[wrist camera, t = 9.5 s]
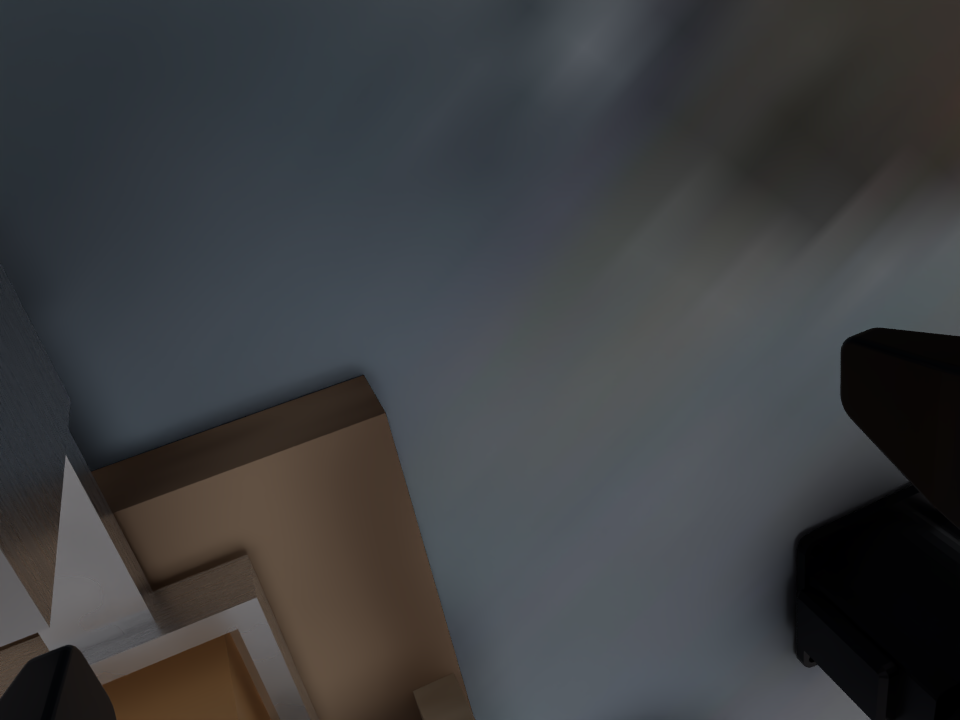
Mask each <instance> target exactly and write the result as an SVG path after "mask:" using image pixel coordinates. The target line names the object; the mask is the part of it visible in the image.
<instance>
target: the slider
mask: <svg viewBox="0 0 960 720" xmlns="http://www.w3.org/2000/svg"><path fill="white" fill-rule="evenodd" d="M70 403H71V400H70V398H69V396H68V394H67V392H66V390H65V388H64V386H63V384H62V382H61V380H60V378H59V376H58V374H57V372H56V370H55V368H54V366H53V364H52V362H51V361H50V359H49V357H48V355H47V353H46V351H45V349H44V347H43V345H42V343H41V341H40V339H39V337H38V335H37V333H36V331H35V329H34V327H33V325H32V323H31V321H30V319H29V317H28V315H27V314H26V312H25V310H24V308H23V306H22V304H21V302H20V300H19V298H18V296H17V294H16V292H15V290H14V288H13V286H12V284H11V282H10V280H9V278H8V276H7V274H6V272H5V270H4V268H3V267H2V265H1V263H0V647H2V646H4V645H7V644H9V643H12V642H14V641H17V640H20V639H22V638H25V637H27V636H30V635H32V634H35V633H37V632H38V634H39V635H40V636H38V637H36V638H33V639H30V640H28V641H25V642H23V643H20V644H18V645H15V646H13V647H10V648H8V649H5V650H2V651H0V698H1V696H2V695H3V694H4V692H5V691H6V690H7V688H8V687H9V685H10V684H11V683H12V681H13V680H14V679H15V677H16V676H17V675H18V673H19V672H20V670H21V669H22V668H23V666H24V665H25V664H26V663H27V662H28V661H29V660H30V659H32V658H34V657H36V656H39V655H41V654H44V653H46V652H49V651H51V650H54V649H57V648H59V647H62V646H64V645H73V646H76V647H77V648H78V649H79V650H80V651H81V652H82V654H83V655H84V657H85V658H86V660H87V662H88V663H89V665H90V667H91V668H92V670H93V671H94V673H95V675H96V676H97V678H98V680H99V681H100V683H101V685H103V684H106V683H108V682H111V681H113V680H115V679H118V678H120V677H123V676H125V675H127V674H130V673H132V672H135V671H137V670H140V669H142V668H144V667H147V666H149V665H152V664H154V663H157V662H159V661H161V660H164V659H166V658H169V657H171V656H174V655H176V654H178V653H181V652H183V651H186V650H188V649H190V648H193V647H195V646H198V645H200V644H203V643H205V642H207V641H210V640H212V639H215V638H217V637H220V636H222V635H224V634H227V633H229V632H232V631H234V630H237V629H238V630H239V632H240V634H241V637H242V639H243V641H244V643H245V645H246V647H247V649H248V652H249V654H250V656H251V658H252V660H253V662H254V664H255V666H256V669H257V671H258V673H259V675H260V677H261V679H262V681H263V684H264V686H265V688H266V690H267V692H268V694H269V696H270V699H271V701H272V703H273V705H274V707H275V709H276V711H277V713H278V716H279V718H280V720H319V719H318V717H317V714H316V712H315V710H314V707H313V705H312V703H311V700H310V698H309V696H308V693H307V691H306V689H305V686H304V684H303V682H302V680H301V677H300V675H299V673H298V670H297V668H296V666H295V663H294V661H293V659H292V656H291V654H290V652H289V650H288V647H287V645H286V643H285V640H284V638H283V636H282V633H281V631H280V629H279V626H278V624H277V622H276V619H275V617H274V615H273V613H272V610H271V608H270V606H269V603H268V601H267V599H266V596H265V594H264V592H263V589H262V587H261V585H260V582H259V580H258V578H257V576H256V573H255V571H254V569H253V566H252V564H251V562H250V559H249V557H248V555H244V556H242V557H239V558H237V559H234V560H231V561H229V562H226V563H224V564H221V565H219V566H216V567H214V568H211V569H209V570H206V571H203V572H201V573H198V574H196V575H193V576H191V577H188V578H186V579H183V580H181V581H178V582H175V583H173V584H170V585H168V586H165V587H163V588H160V589H158V590H155V591H153V590H152V588H151V586H150V584H149V582H148V580H147V578H146V576H145V574H144V573H143V571H142V569H141V567H140V565H139V563H138V561H137V559H136V557H135V555H134V553H133V551H132V550H131V548H130V546H129V544H128V542H127V540H126V538H125V536H124V534H123V532H122V530H121V529H120V527H119V525H118V523H117V521H116V519H115V517H114V515H113V513H112V511H111V509H110V507H109V506H108V504H107V502H106V500H105V498H104V496H103V494H102V492H101V490H100V488H99V486H98V485H97V483H96V481H95V479H94V477H93V475H92V473H91V471H90V469H89V467H88V465H87V464H86V462H85V460H84V458H83V456H82V454H81V452H80V450H79V448H78V446H77V444H76V442H75V441H74V439H73V437H72V435H71V433H70V431H69V429H68V424H69V414H70Z"/></svg>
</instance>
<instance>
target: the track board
mask: <svg viewBox="0 0 960 720" xmlns="http://www.w3.org/2000/svg"><path fill="white" fill-rule="evenodd" d="M91 473H92V475H93V477H94V479H95V481H96V483H97V485H98V486H99V488H100V490H101V492H102V494H103V496H104V498H105V500H106V502H107V504H108V506H109V507H110V509H111V511H112V513H113V515H114V517H115V519H116V521H117V523H118V525H119V527H120V529H121V530H122V532H123V534H124V536H125V538H126V540H127V542H128V544H129V546H130V548H131V550H132V551H133V553H134V555H135V557H136V559H137V561H138V563H139V565H140V567H141V569H142V571H143V573H144V574H145V576H146V578H147V580H148V582H149V584H150V586H151V588H152V590H153V591H155V590H158V589H160V588H163V587H165V586H168V585H170V584H173V583H175V582H178V581H181V580H183V579H186V578H188V577H191V576H193V575H196V574H198V573H201V572H203V571H206V570H209V569H211V568H214V567H216V566H219V565H221V564H224V563H226V562H229V561H231V560H234V559H237V558H239V557H242V556H244V555H248V557H249V559H250V562H251V564H252V566H253V569H254V571H255V573H256V576H257V578H258V580H259V582H260V585H261V587H262V589H263V592H264V594H265V596H266V599H267V601H268V603H269V606H270V608H271V610H272V613H273V615H274V617H275V619H276V622H277V624H278V626H279V629H280V631H281V633H282V636H283V638H284V640H285V643H286V645H287V647H288V650H289V652H290V654H291V656H292V659H293V661H294V663H295V666H296V668H297V670H298V673H299V675H300V677H301V680H302V682H303V684H304V686H305V689H306V691H307V693H308V696H309V698H310V700H311V703H312V705H313V707H314V710H315V712H316V714H317V717H318V719H319V720H422V717H421V714H420V711H419V708H418V705H417V702H416V699H415V696H414V693H413V691H415V690H417V689H419V688H421V687H423V686H426V685H428V684H430V683H432V682H434V681H437V680H439V679H441V678H443V677H445V676H448V675H450V674H452V673H454V675H455V678H456V680H457V682H458V684H459V686H460V688H461V690H462V693H463V695H464V697H465V699H466V701H467V703H468V706H469V708H470V710H471V706H470V703H469V699H468V696H467V692H466V689H465V685H464V682H463V678H462V675H461V672H460V668H459V665H458V661H457V658H456V654H455V651H454V647H453V644H452V641H451V637H450V634H449V630H448V627H447V623H446V620H445V616H444V613H443V609H442V606H441V603H440V599H439V596H438V592H437V589H436V585H435V582H434V578H433V575H432V571H431V568H430V565H429V561H428V558H427V554H426V551H425V547H424V544H423V540H422V537H421V533H420V530H419V527H418V523H417V520H416V516H415V513H414V509H413V506H412V502H411V499H410V496H409V492H408V489H407V485H406V482H405V478H404V475H403V471H402V468H401V464H400V461H399V458H398V454H397V451H396V447H395V444H394V440H393V437H392V433H391V430H390V426H389V423H388V420H387V416H386V413H385V411H384V409H383V408H382V406H381V404H380V402H379V401H378V399H377V397H376V395H375V394H374V392H373V390H372V389H371V387H370V385H369V383H368V382H367V380H366V378H365V376H364V375H362V376H360V377H357V378H354V379H351V380H348V381H345V382H343V383H340V384H337V385H334V386H331V387H329V388H326V389H323V390H320V391H317V392H314V393H312V394H309V395H306V396H303V397H300V398H298V399H295V400H292V401H289V402H286V403H283V404H281V405H278V406H275V407H272V408H269V409H267V410H264V411H261V412H258V413H255V414H252V415H250V416H247V417H244V418H241V419H238V420H235V421H233V422H230V423H227V424H224V425H221V426H219V427H216V428H213V429H210V430H207V431H204V432H202V433H199V434H196V435H193V436H190V437H188V438H185V439H182V440H179V441H176V442H173V443H171V444H168V445H165V446H162V447H159V448H157V449H154V450H151V451H148V452H145V453H142V454H140V455H137V456H134V457H131V458H128V459H125V460H123V461H120V462H117V463H114V464H111V465H109V466H106V467H103V468H100V469H97V470H94V471H92V472H91ZM230 634H231V636H232V638H233V641H234V643H235V645H236V647H237V649H238V651H239V653H240V655H241V657H242V659H243V662H244V664H245V666H246V668H247V670H248V672H249V674H250V676H251V678H252V680H253V683H254V685H255V687H256V689H257V691H258V693H259V695H260V697H261V699H262V701H263V704H264V706H265V708H266V710H267V712H268V714H269V716H270V718H271V720H280V718H279V716H278V713H277V711H276V709H275V707H274V705H273V703H272V701H271V699H270V696H269V694H268V692H267V690H266V688H265V686H264V684H263V681H262V679H261V677H260V675H259V673H258V671H257V669H256V666H255V664H254V662H253V660H252V658H251V656H250V654H249V652H248V649H247V647H246V645H245V643H244V641H243V639H242V637H241V634H240V632H239V630H238V629H237V630H234V631H232V632H230ZM38 636H40V635H39V634H38V632H37V633H35V634H32V635H30V636H27V637H25V638H22V639H20V640H17V641H14V642H12V643H9V644H7V645H4V646H2V647H0V651H2V650H5V649H8V648H10V647H13V646H15V645H18V644H20V643H23V642H25V641H28V640H30V639H33V638H36V637H38ZM471 712H472V710H471ZM472 714H473V713H472Z"/></svg>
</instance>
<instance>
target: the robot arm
mask: <svg viewBox="0 0 960 720" xmlns="http://www.w3.org/2000/svg"><path fill="white" fill-rule="evenodd" d="M840 395H841V401H842V405H843V407H844V409H845V411H846V413H847V414H848V416H849V417H850V418H851V419H852V420H853V422H854V423H855V424H856V425H857V426H858V427H859V428H860V429H861V430H862V431H863V432H864V433H865V434H866V435H867V436H868V438H869V439H870V440H871V441H872V442H873V443H874V444H875V445H876V446H877V447H878V448H879V449H880V450H881V451H882V452H883V454H884V455H885V456H886V457H887V458H888V459H889V460H890V461H891V462H892V463H893V464H894V465H895V466H896V467H897V469H898V470H899V471H900V472H901V473H902V474H903V475H904V476H905V477H906V478H907V479H908V480H909V481H910V482H911V483H912V485H913V486H910V487H908V488H906V489H904V490H902V491H900V492H897V493H895V494H893V495H891V496H889V497H886V498H884V499H882V500H880V501H878V502H876V503H873V504H871V505H869V506H867V507H865V508H863V509H860V510H858V511H856V512H854V513H852V514H849V515H847V516H845V517H843V518H841V519H839V520H836V521H834V522H832V523H830V524H828V525H825V526H823V527H821V528H819V529H817V530H815V531H812V532H810V533H808V534H807V535H805V536H804V537H803V538H802V539H801V540H800V542H799V544H798V547H797V658H798V659H799V660H800V662H801V663H802V664H803V665H804V666H806V667H813V666H815V665H817V664H818V666H819V667H820V668H821V669H822V670H823V671H824V672H825V673H826V674H827V675H828V676H829V677H830V678H831V679H832V680H833V681H834V682H835V683H836V684H837V685H838V686H839V687H840V688H841V689H842V690H843V691H844V692H845V693H846V694H847V695H848V696H849V697H850V698H851V699H852V700H853V701H854V702H855V704H856V705H857V706H858V707H859V708H860V709H861V710H862V711H863V712H864V713H865V714H866V715H867V716H868V717H869V718H870V719H871V720H960V336H952V335H943V334H933V333H924V332H915V331H906V330H897V329H887V328H872V329H869V330H866V331H864V332H861V333H859V334H856V335H854V336H851V337H849V338H847V339H846V340H845V341H844V343H843V345H842V347H841V385H840ZM0 720H117V719H116V714H115V711H114V707H113V705H112V702H111V700H110V698H109V696H108V694H107V693H106V691H105V689H104V688H103V686H102V685H101V683H100V681H99V680H98V678H97V676H96V675H95V673H94V671H93V670H92V668H91V667H90V665H89V663H88V662H87V660H86V658H85V657H84V655H83V654H82V652H81V651H80V650H79V649H78V648H77V647H76V646H73V645H64V646H62V647H59V648H57V649H54V650H51V651H49V652H46V653H44V654H41V655H39V656H36V657H34V658H32V659H30V660H29V661H28V662H27V663H26V664H25V665H24V666H23V668H22V669H21V670H20V672H19V673H18V675H17V676H16V677H15V679H14V680H13V681H12V683H11V684H10V685H9V687H8V688H7V690H6V691H5V692H4V694H3V695H2V696H1V698H0Z"/></svg>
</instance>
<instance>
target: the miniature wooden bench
mask: <svg viewBox="0 0 960 720" xmlns="http://www.w3.org/2000/svg"><path fill="white" fill-rule="evenodd" d="M413 693H414V696H415V699H416V702H417V705H418V708H419V711H420V714H421V717H422V720H475V718H474V716H473V714H472V712H471V710H470V708H469V706H468V703H467V701H466V699H465V697H464V695H463V693H462V690H461V688H460V686H459V684H458V682H457V680H456V678H455V675H454V673H452V674H450V675H448V676H445V677H443V678H441V679H439V680H437V681H434V682H432V683H430V684H428V685H426V686H423V687H421V688H419V689H417V690H415V691H413Z"/></svg>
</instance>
